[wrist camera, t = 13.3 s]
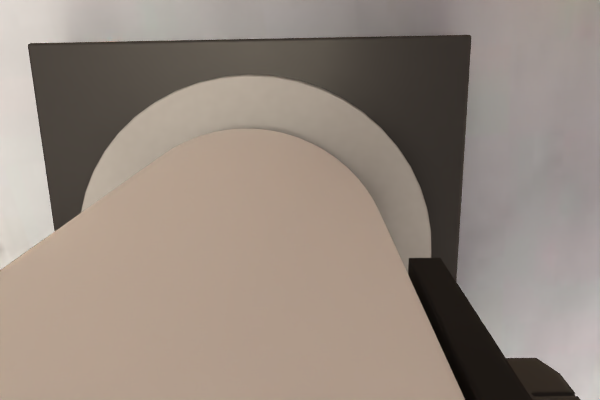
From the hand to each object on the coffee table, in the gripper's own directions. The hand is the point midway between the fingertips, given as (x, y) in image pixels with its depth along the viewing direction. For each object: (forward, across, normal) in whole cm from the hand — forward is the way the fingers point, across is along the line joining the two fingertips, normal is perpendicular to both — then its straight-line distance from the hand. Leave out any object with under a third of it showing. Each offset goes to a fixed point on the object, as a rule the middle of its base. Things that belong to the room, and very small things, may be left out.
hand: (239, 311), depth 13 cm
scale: (+7, 0, +1) cm, 7 cm away
